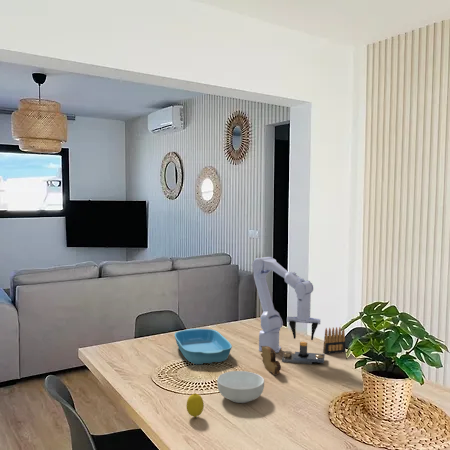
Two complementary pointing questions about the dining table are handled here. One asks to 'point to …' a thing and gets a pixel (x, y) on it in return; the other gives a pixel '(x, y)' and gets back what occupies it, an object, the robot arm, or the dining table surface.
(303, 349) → the pin
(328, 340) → the ammunition clip
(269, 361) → the wooden carving
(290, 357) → the chain end left
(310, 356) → the chain end right
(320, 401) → the dining table surface
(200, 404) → the lemon
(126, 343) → the dining table surface
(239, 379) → the cereal bowl
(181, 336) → the casserole dish
